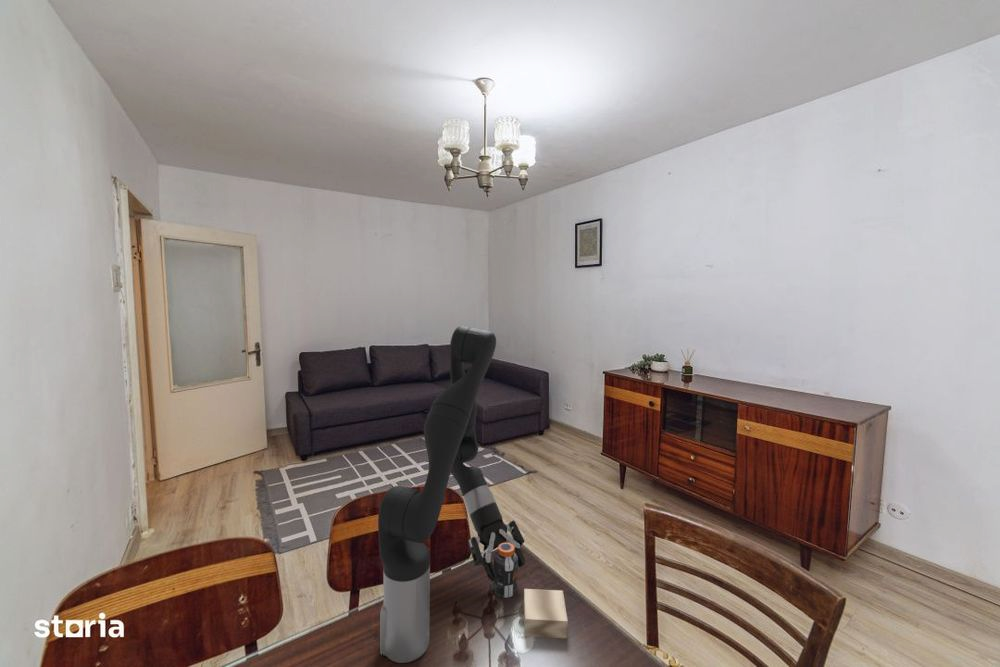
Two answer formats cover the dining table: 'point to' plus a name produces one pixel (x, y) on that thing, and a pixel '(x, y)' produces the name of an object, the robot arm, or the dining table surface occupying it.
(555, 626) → the maple block
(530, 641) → the dining table surface
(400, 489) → the robot arm
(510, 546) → the pill bottle
